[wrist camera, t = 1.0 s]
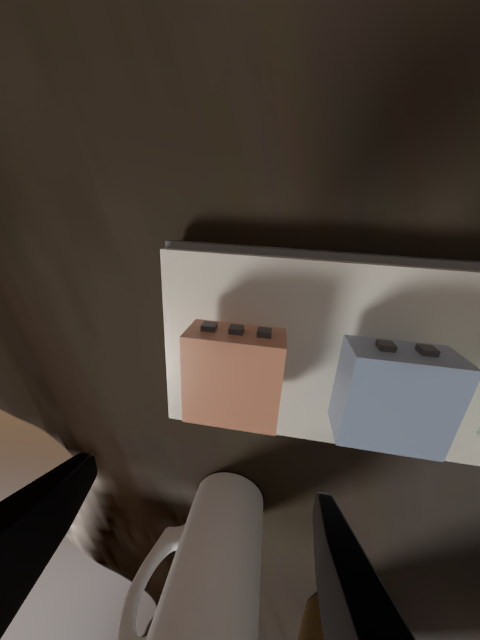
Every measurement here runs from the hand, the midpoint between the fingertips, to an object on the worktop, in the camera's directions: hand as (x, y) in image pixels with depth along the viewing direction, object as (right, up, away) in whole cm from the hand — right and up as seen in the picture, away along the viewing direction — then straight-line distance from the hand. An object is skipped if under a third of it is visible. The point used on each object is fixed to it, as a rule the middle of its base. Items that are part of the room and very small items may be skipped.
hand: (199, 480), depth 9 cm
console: (+10, +3, +9) cm, 14 cm away
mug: (-1, -12, +17) cm, 20 cm away
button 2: (+9, +2, +6) cm, 11 cm away
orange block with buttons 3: (+1, +3, +7) cm, 7 cm away
